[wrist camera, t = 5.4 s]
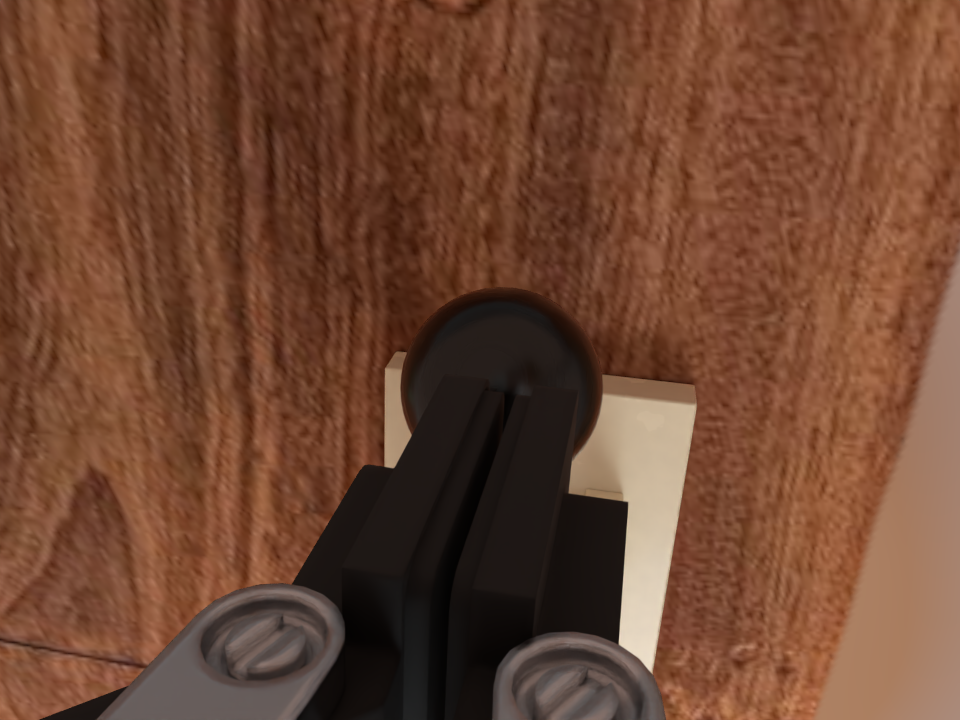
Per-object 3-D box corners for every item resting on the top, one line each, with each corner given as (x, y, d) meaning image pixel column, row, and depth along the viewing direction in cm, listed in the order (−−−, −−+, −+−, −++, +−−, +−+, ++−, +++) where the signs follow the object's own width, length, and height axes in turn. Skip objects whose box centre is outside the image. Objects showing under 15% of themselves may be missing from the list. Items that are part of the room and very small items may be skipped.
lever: (432, 297, 16) (395, 256, 13) (610, 316, 16) (617, 278, 13) (330, 1067, 15) (260, 1230, 12) (521, 1110, 14) (503, 1292, 11)
